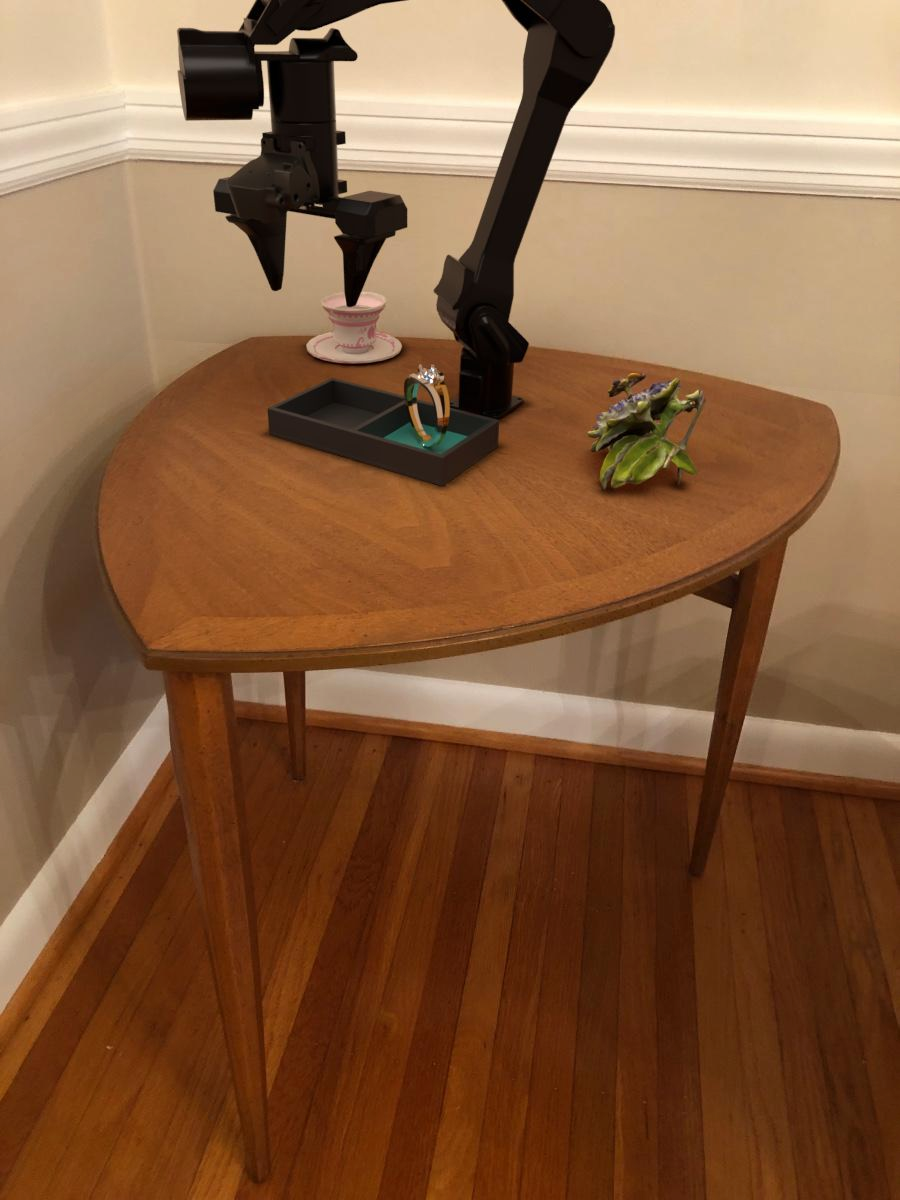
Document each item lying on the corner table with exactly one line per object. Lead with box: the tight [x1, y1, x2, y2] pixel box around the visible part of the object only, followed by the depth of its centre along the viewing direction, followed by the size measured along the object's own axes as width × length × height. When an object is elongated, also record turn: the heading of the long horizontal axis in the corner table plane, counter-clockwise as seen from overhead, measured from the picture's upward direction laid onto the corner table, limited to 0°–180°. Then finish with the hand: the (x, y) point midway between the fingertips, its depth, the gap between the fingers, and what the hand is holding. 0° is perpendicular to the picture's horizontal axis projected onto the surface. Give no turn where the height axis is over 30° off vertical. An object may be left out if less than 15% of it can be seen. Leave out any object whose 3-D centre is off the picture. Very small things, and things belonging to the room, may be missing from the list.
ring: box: [403, 364, 450, 447], centre depth 91 cm, size 7×3×8 cm, turn 25°
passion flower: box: [587, 372, 707, 491], centre depth 88 cm, size 11×11×12 cm
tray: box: [266, 377, 500, 487], centre depth 95 cm, size 11×21×3 cm, turn 59°
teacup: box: [305, 290, 403, 365], centre depth 117 cm, size 12×12×6 cm
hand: (313, 298), depth 92 cm, fingers open, 9 cm apart
